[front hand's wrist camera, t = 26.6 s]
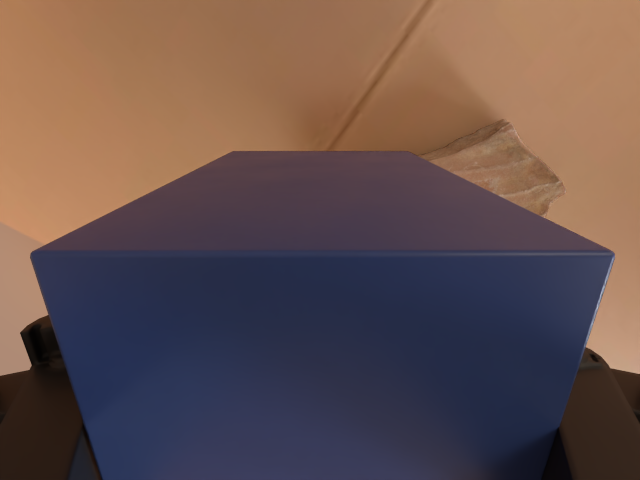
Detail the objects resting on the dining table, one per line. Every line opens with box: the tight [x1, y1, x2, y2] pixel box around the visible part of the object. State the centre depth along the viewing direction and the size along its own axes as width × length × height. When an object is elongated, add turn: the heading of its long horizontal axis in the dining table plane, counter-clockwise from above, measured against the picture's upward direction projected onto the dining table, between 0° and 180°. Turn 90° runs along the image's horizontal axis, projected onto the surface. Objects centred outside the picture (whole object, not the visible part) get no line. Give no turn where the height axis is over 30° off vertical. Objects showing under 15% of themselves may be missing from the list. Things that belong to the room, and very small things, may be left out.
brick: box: [30, 151, 615, 480], centre depth 11 cm, size 8×7×11 cm
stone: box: [419, 119, 566, 217], centre depth 27 cm, size 13×12×3 cm
